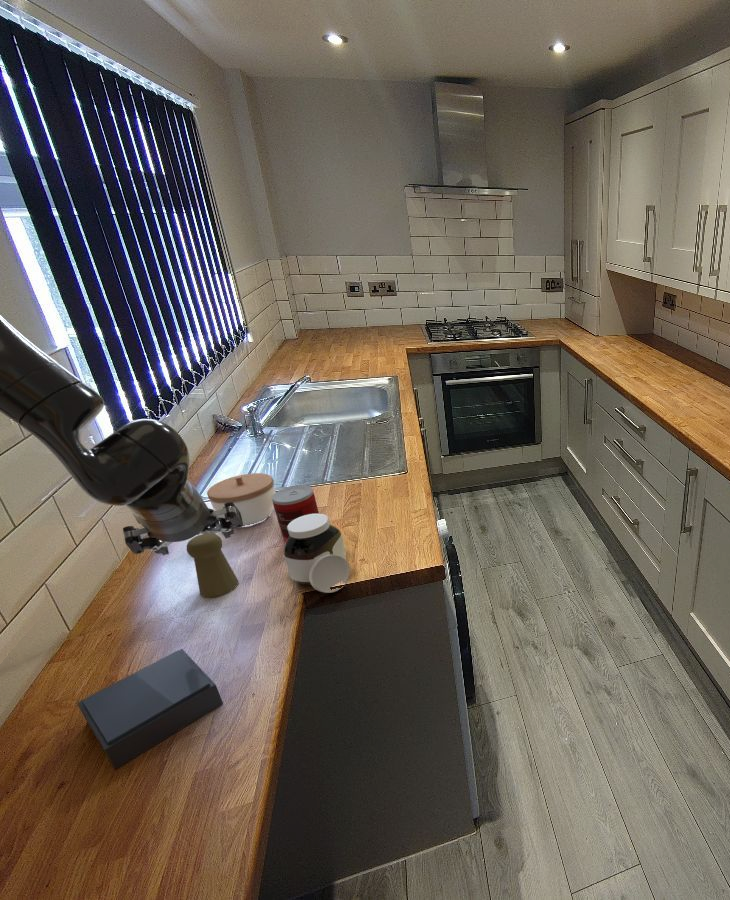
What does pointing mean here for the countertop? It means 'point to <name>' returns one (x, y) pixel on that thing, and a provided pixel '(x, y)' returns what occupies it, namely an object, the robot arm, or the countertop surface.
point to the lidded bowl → (245, 496)
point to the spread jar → (316, 553)
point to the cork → (211, 566)
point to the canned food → (293, 505)
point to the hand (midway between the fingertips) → (196, 540)
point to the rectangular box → (149, 706)
